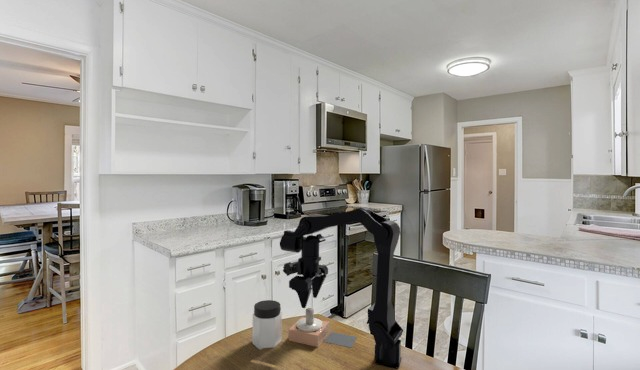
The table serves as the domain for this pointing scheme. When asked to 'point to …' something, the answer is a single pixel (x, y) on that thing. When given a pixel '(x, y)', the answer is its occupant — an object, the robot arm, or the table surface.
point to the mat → (341, 339)
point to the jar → (267, 324)
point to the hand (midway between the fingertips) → (309, 302)
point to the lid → (309, 322)
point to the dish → (309, 335)
